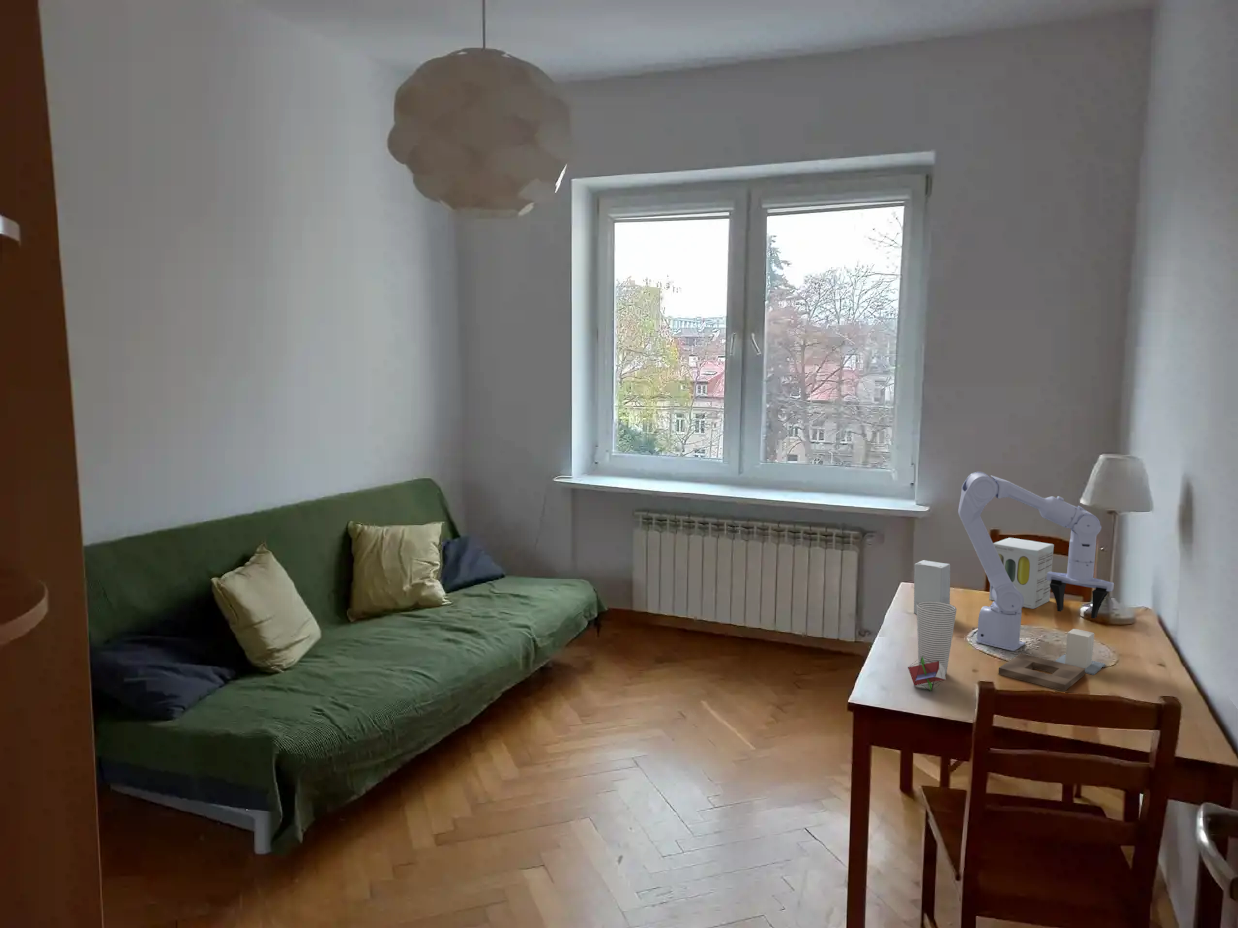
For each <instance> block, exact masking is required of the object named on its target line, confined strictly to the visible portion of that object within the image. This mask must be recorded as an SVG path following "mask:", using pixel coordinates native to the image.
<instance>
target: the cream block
mask: <svg viewBox="0 0 1238 928" xmlns="http://www.w3.org/2000/svg"><path fill="white" fill-rule="evenodd" d="M1066 637H1067V638H1066V646H1065V648H1066V649H1065V654H1066V657H1065V664H1069V665H1074V666H1078V667H1082V668H1087V667H1088V666H1090V665H1091V664H1092V661H1093V655H1094V651H1093V650H1094V642H1095V633H1094V632H1091V631H1087V630H1082V629H1077V628H1072V629H1071V630H1070V631H1067V636H1066Z"/></svg>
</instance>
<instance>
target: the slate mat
mask: <svg viewBox="0 0 1238 928" xmlns="http://www.w3.org/2000/svg"><path fill="white" fill-rule="evenodd" d="M1065 657H1066V653H1064V654H1062V655H1061V656H1059V657H1058V658H1056V659H1055V660H1054V661H1056V662H1060V663H1064V664H1065ZM1068 665H1069V664H1068ZM1072 666H1074V665H1072ZM1105 666H1106V663H1104V662H1099V661H1096V660H1092V664H1091V665H1090V666H1088V667H1087V668H1085V674H1088V675H1092V676H1095V675H1096V674H1097V673H1099V671H1101V670H1102V669H1103V668H1105ZM1076 667H1078V666H1076ZM1102 667H1103V668H1102ZM1080 668H1082V667H1080ZM1101 668H1102V669H1101Z"/></svg>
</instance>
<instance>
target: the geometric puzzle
mask: <svg viewBox="0 0 1238 928" xmlns="http://www.w3.org/2000/svg"><path fill="white" fill-rule="evenodd" d="M921 657H922V658H921V661H920V662H919V663H920V664H922V665H918V664H917V665H916V663H913V665H912V664H910V665H909V666H907V669H908V671H909V674H910V678H911V681H912V683H913V687H917V686H920V685H921V686H923V687H925V686H924V685H925V684H927V685H928V687H929V689H928V691H929V692H930V693H932V691H933V690H935V688H936V687H934V689H933V686H934V685H936V684H937V683H938V684H939V683H940V684H941V683H942V682H943V681H945V680H947V678H946V674H945V669H944V668H943V666H942V665H941V663H940V662H939V661H938V662H937V661H929V662H931V663H928V664H925V662H924V659H923V655H922V656H921ZM924 658H925V656H924ZM927 658H928V657H927ZM930 659H931V658H930ZM927 660H928V659H927ZM916 661H918V659H916V660H915V662H916ZM932 662H933V663H932ZM934 682H935V683H934ZM940 684H939V685H940ZM925 688H926V687H925ZM924 690H926V691H927V688H926V689H924Z"/></svg>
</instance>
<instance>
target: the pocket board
mask: <svg viewBox="0 0 1238 928" xmlns="http://www.w3.org/2000/svg"><path fill="white" fill-rule="evenodd" d="M1033 669H1035V670H1033ZM1037 670H1039V671H1037ZM1041 671H1043V672H1041ZM997 673H998V675H1001V676H1004V677H1009V678H1013V679H1016V680H1020V681H1023V682H1028V683H1032V684H1034V685H1039V686H1042V687H1047V688H1050V689H1054V690H1057V691H1062V692H1066V691H1067V690H1069V688H1070V687H1072V686H1073V685H1074V684H1076V682H1078V681H1079V680H1080V679H1081V678H1083V677H1084V676H1085V674H1086V673H1085V668H1080V667H1076V666H1072V665H1068V664H1064V663H1060V662H1056V661H1055V660H1051V659H1047V658H1042V657H1039V656H1035V655H1031V654H1026V653H1024V652H1023V653H1022V652H1021V653H1019V654H1018V655H1016V656H1015V657H1013V658H1012V659H1010V660H1009V661H1007V662H1005V663H1003V664H1002V665H1000V666H999V667H998V672H997Z"/></svg>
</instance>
